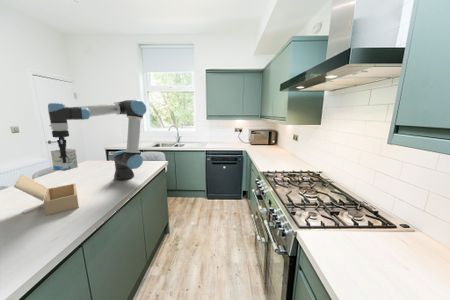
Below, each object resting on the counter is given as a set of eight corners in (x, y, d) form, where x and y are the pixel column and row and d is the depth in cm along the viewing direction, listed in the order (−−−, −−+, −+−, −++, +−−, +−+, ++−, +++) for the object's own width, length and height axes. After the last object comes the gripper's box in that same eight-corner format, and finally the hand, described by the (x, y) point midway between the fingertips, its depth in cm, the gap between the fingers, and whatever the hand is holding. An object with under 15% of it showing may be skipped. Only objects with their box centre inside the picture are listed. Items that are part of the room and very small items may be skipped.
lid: (22, 174, 111) (21, 175, 111) (14, 185, 95) (13, 186, 94) (46, 187, 119) (45, 188, 119) (43, 200, 102) (42, 201, 102)
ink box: (64, 171, 112) (61, 151, 110) (53, 170, 113) (49, 151, 111) (78, 167, 120) (75, 149, 118) (67, 166, 122) (64, 148, 119)
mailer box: (77, 194, 130) (75, 183, 128) (78, 207, 113) (76, 194, 111) (49, 200, 121) (46, 188, 120) (46, 215, 104) (43, 202, 102)
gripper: (52, 129, 119) (58, 162, 123) (50, 132, 101) (56, 171, 105) (68, 128, 124) (73, 161, 128) (68, 131, 105) (73, 169, 110)
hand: (65, 165), depth 116 cm, fingers closed on ink box, 11 cm apart
